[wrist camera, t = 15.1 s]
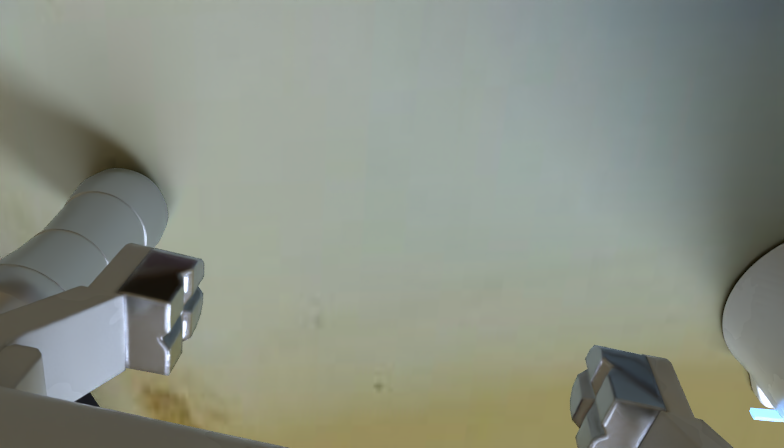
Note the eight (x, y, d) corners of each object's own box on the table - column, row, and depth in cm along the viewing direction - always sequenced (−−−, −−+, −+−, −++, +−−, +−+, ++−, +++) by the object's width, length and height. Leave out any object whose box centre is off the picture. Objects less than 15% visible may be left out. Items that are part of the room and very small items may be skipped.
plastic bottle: (83, 214, 47) (-134, 418, 30) (102, 141, 44) (-127, 322, 27) (164, 250, 48) (0, 467, 31) (189, 181, 45) (21, 380, 28)
